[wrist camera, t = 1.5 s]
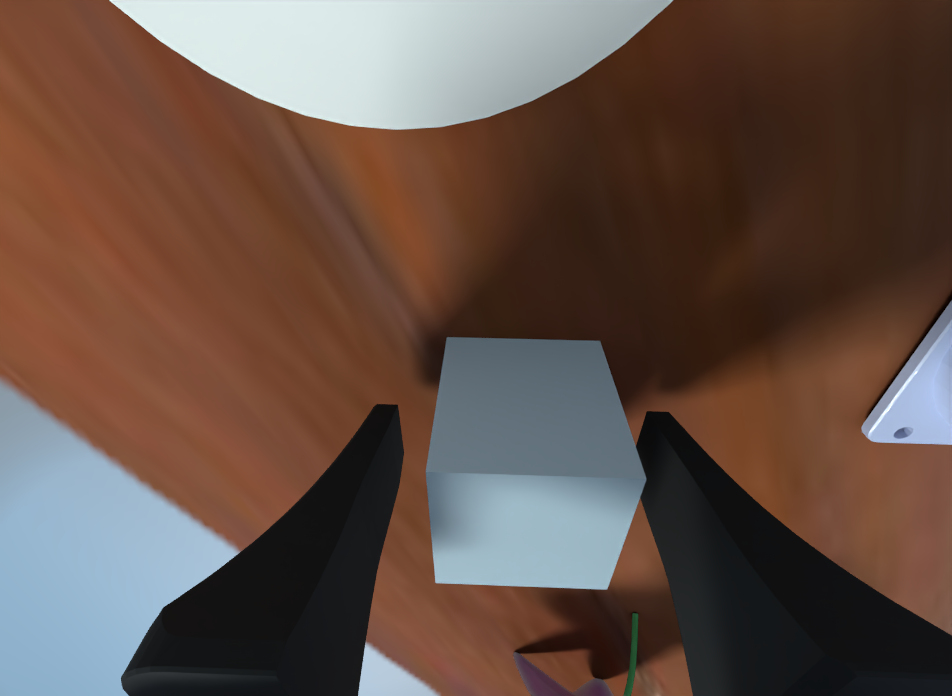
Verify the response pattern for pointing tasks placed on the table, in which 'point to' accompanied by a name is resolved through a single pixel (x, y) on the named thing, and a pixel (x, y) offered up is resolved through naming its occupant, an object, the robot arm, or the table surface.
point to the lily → (594, 692)
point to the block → (529, 465)
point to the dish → (395, 51)
